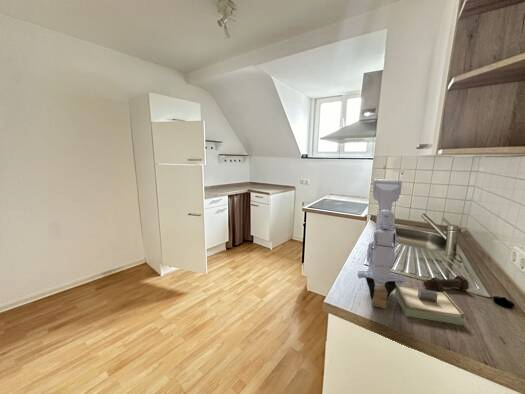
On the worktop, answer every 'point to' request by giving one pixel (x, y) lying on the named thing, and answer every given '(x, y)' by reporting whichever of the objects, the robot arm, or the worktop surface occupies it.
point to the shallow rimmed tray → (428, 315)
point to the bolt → (447, 283)
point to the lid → (429, 302)
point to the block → (379, 296)
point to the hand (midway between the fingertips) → (378, 298)
